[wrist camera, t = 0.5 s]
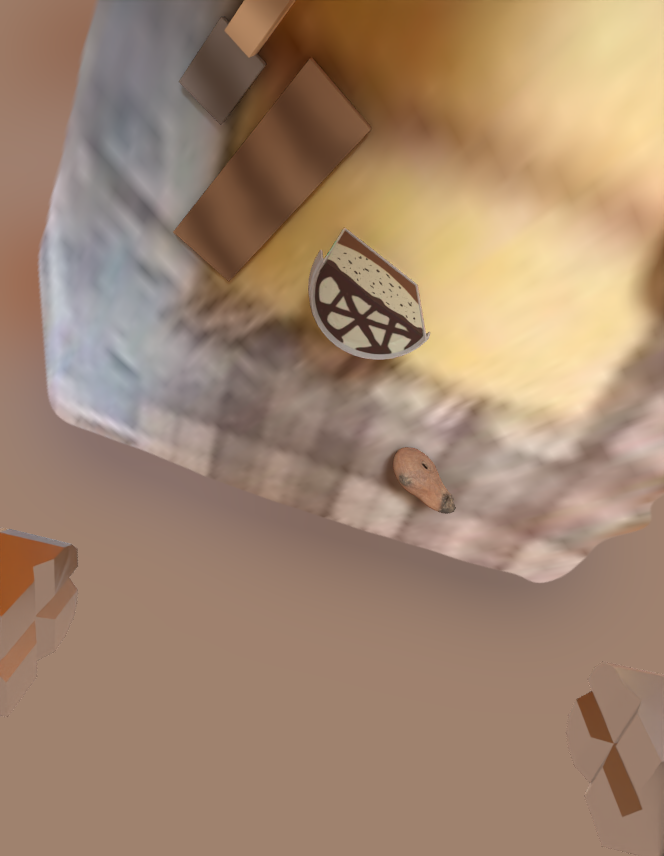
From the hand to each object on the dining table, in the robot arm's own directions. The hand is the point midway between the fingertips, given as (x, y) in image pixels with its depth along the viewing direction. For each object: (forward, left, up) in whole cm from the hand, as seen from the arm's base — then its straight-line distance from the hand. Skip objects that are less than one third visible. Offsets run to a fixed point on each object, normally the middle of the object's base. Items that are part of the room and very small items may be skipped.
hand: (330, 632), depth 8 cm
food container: (+13, +9, -48) cm, 50 cm away
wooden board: (+13, -4, -47) cm, 49 cm away
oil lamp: (+24, +32, -48) cm, 62 cm away
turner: (+4, -12, -47) cm, 49 cm away
